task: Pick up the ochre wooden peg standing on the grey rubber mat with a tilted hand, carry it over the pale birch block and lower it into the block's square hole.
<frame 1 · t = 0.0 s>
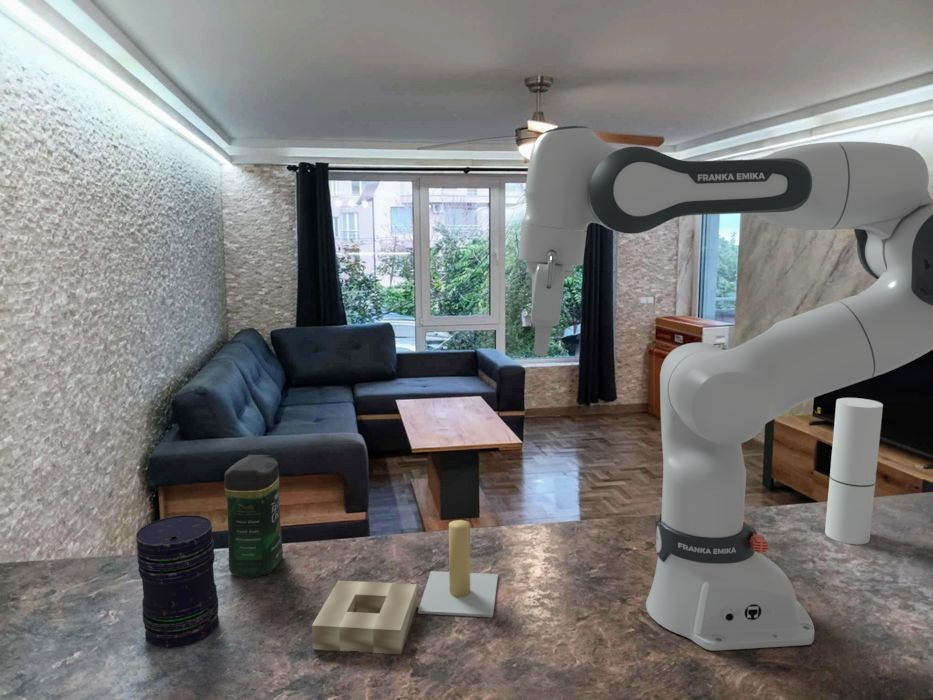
hand: (540, 349, 96), 39 cm above the countertop, tool pointing down, fingers open, 8 cm apart
dark blue cylinder: (182, 629, 97), on the countertop
hole block: (367, 626, 97), on the countertop
cylindrical container: (846, 536, 125), on the countertop
peg: (459, 591, 105), resting on mat
coffee jar: (257, 566, 115), on the countertop
mat: (460, 594, 105), on the countertop
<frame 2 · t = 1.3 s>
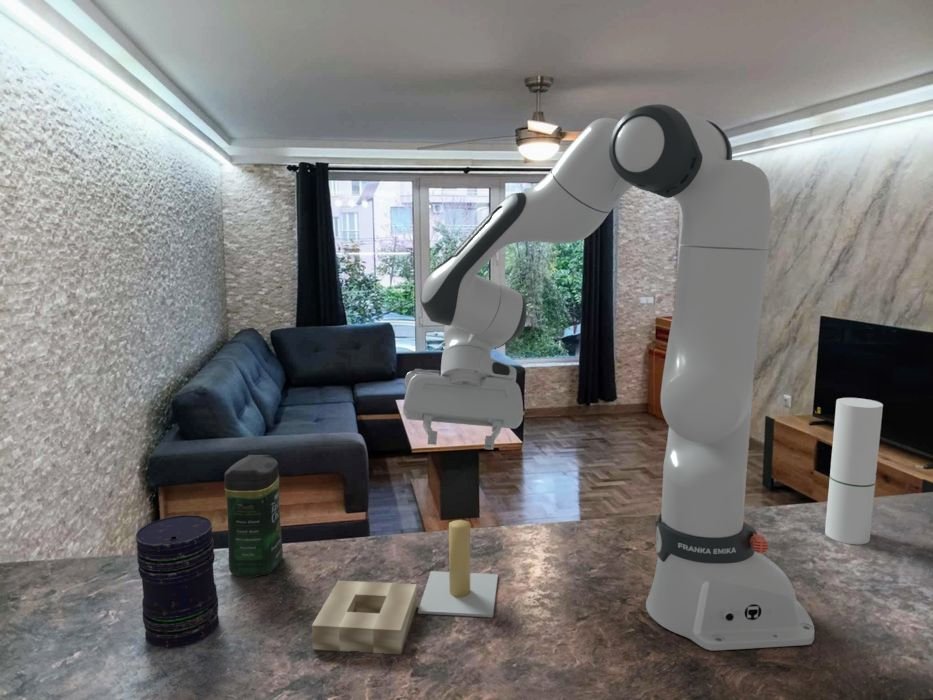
hand: (460, 445, 112), 21 cm above the countertop, tool tilted 45°, fingers open, 8 cm apart
nothing on the countertop moved.
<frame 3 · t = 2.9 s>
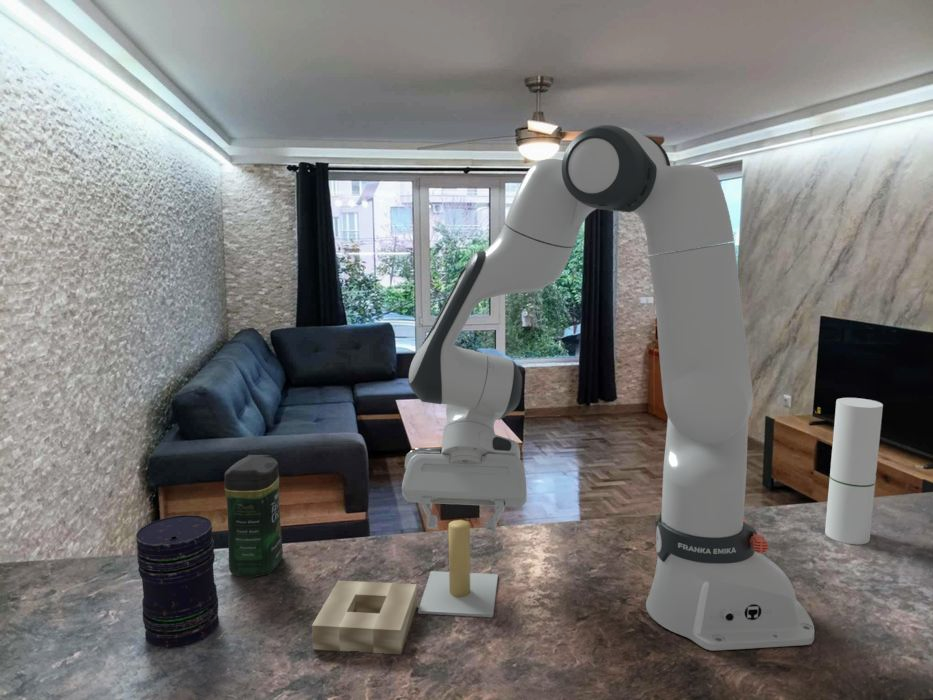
hand: (461, 529, 107), 9 cm above the countertop, tool tilted 45°, fingers open, 8 cm apart
nothing on the countertop moved.
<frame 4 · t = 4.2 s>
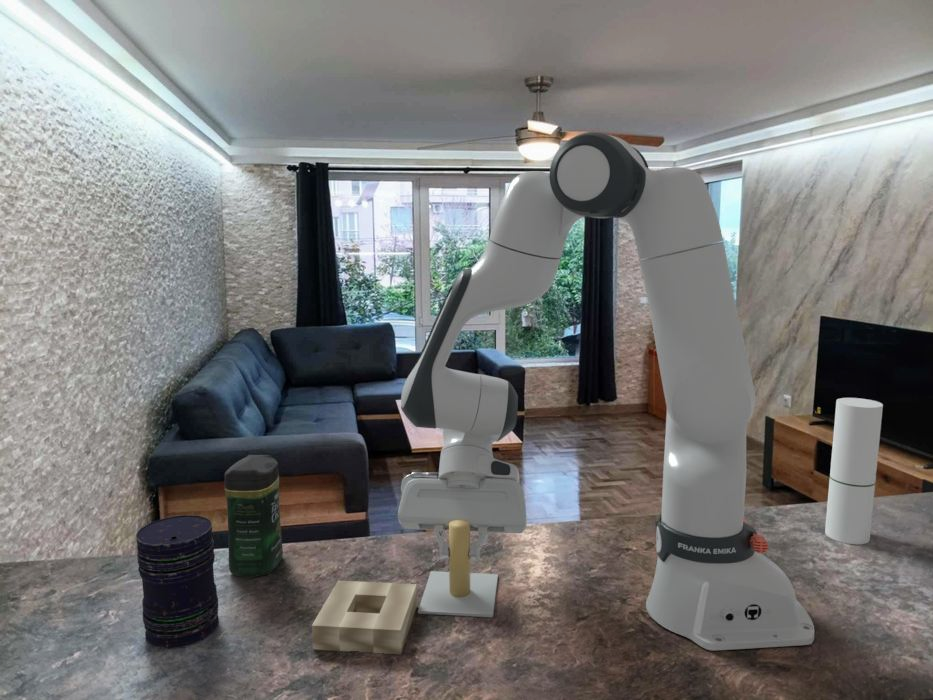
hand: (459, 557, 104), 6 cm above the countertop, tool tilted 45°, fingers closed on peg, 3 cm apart
peg: (459, 591, 105), resting on mat, touching gripper
everything else where it was.
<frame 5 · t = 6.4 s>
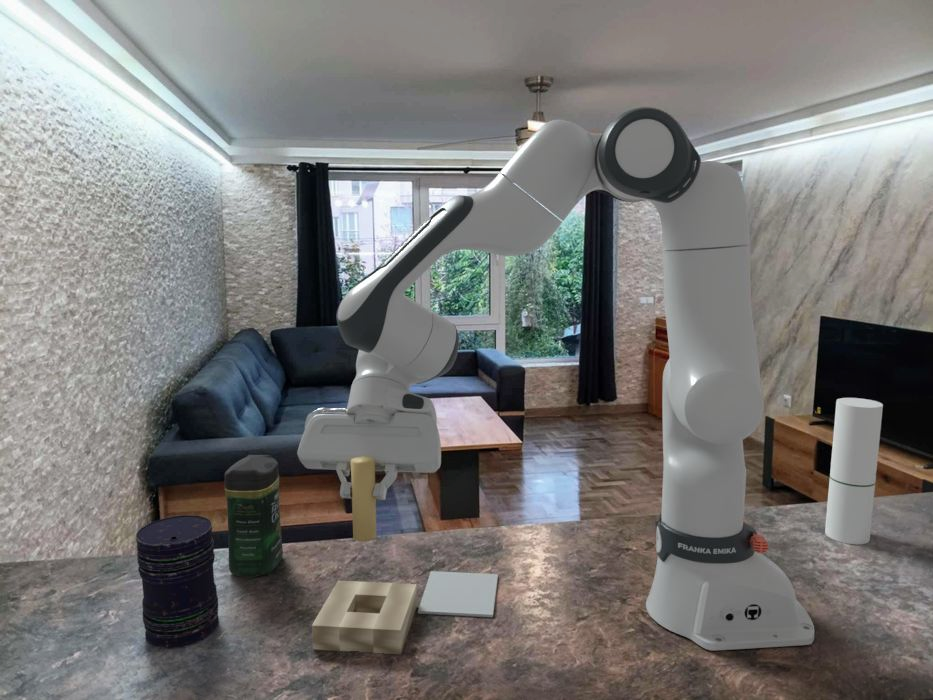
hand: (362, 497, 93), 19 cm above the countertop, tool tilted 45°, fingers closed on peg, 3 cm apart
peg: (364, 536, 95), point 14 cm above the countertop, touching gripper
everything else where it was.
when the fingers open (7 cm above the countertop, at t = 8.9 s): peg drops 1 cm, resting in hole block.
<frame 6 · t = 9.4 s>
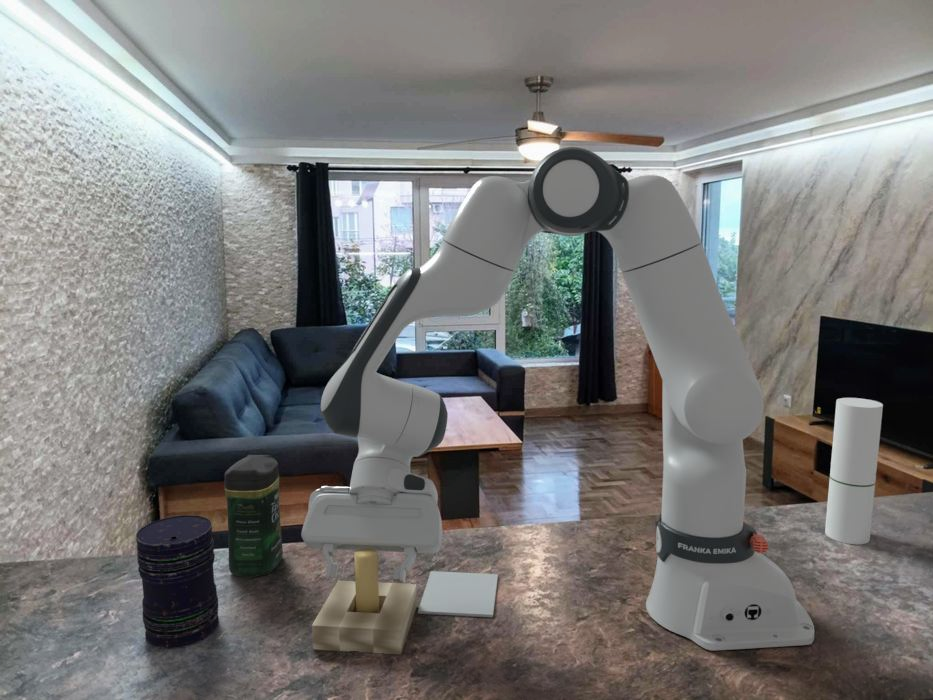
hand: (365, 580, 95), 7 cm above the countertop, tool tilted 45°, fingers open, 8 cm apart
peg: (368, 626, 97), resting in hole block
everything else where it was.
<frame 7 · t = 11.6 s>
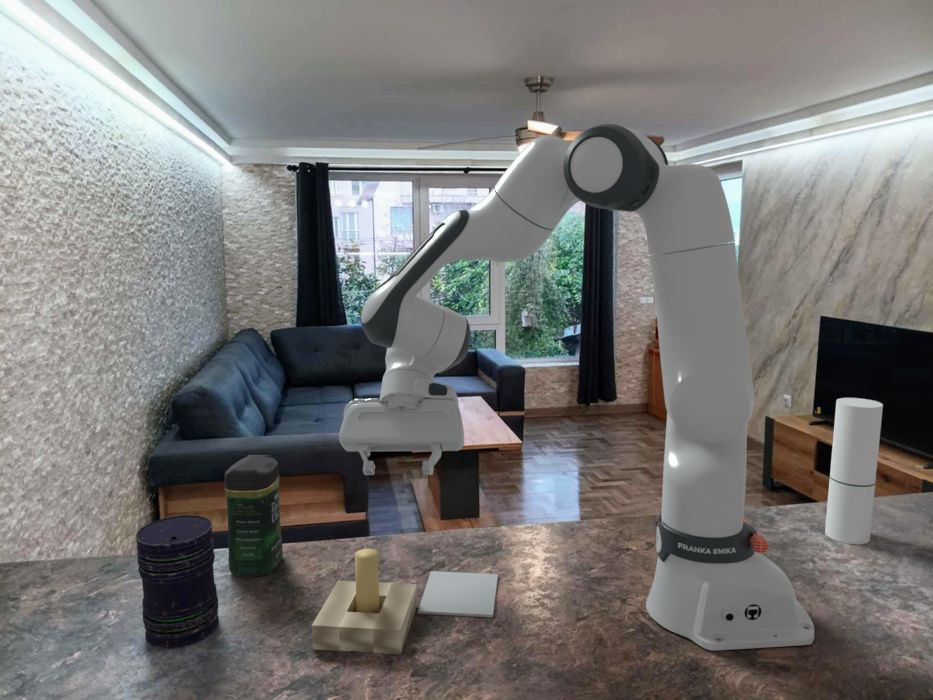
hand: (397, 473, 107), 18 cm above the countertop, tool tilted 45°, fingers open, 8 cm apart
nothing on the countertop moved.
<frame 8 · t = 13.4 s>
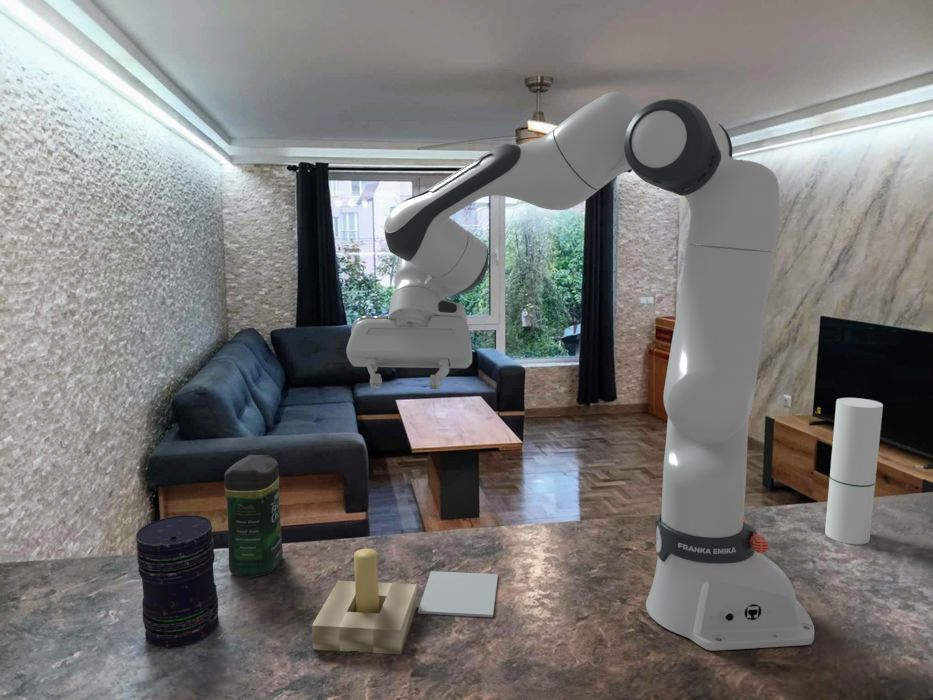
hand: (404, 386, 106), 31 cm above the countertop, tool tilted 45°, fingers open, 8 cm apart
nothing on the countertop moved.
at the end: peg 0.1 cm off-centre on the hole block, point 0.0 cm above the hole block's base; peg tilted 0°; the gripper is holding nothing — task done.
